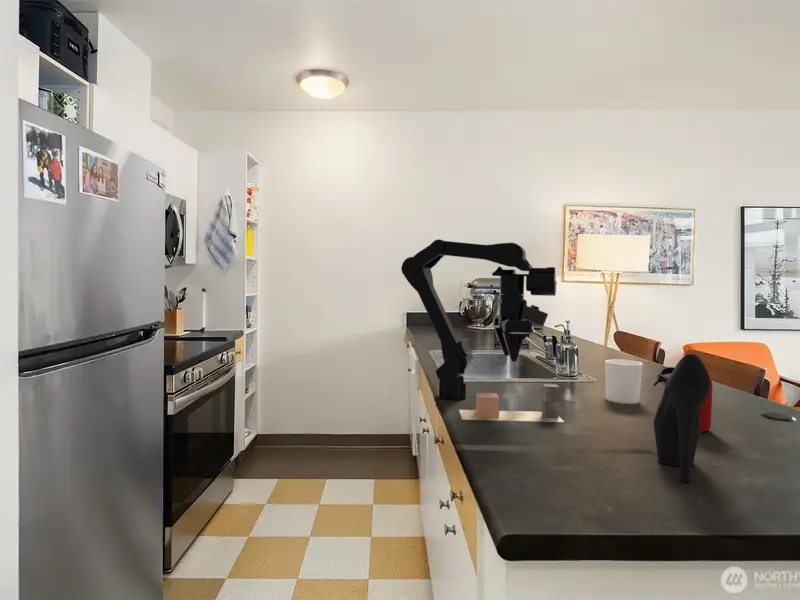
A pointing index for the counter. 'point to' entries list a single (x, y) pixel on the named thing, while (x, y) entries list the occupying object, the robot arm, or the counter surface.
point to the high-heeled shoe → (681, 413)
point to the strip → (547, 415)
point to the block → (487, 405)
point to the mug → (623, 381)
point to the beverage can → (706, 412)
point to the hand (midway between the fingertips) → (510, 358)
